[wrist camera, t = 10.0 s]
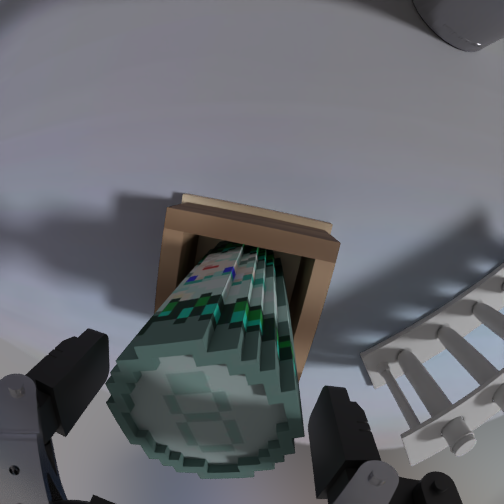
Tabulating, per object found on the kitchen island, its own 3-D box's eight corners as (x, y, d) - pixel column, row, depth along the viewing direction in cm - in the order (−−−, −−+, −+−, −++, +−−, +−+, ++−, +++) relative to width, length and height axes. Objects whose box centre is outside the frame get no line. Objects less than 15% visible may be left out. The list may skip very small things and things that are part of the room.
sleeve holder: (186, 193, 23) (160, 197, 17) (329, 222, 23) (350, 236, 17) (168, 323, 25) (144, 360, 19) (295, 350, 25) (302, 393, 19)
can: (274, 230, 22) (282, 326, 7) (290, 308, 23) (310, 470, 8) (193, 247, 22) (79, 350, 8) (213, 321, 24) (153, 476, 9)
